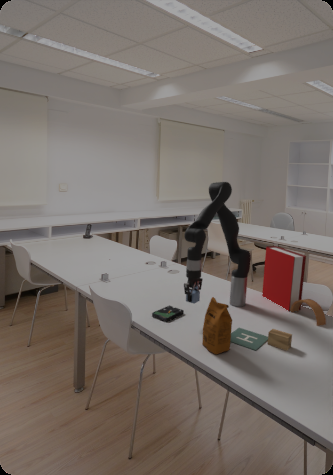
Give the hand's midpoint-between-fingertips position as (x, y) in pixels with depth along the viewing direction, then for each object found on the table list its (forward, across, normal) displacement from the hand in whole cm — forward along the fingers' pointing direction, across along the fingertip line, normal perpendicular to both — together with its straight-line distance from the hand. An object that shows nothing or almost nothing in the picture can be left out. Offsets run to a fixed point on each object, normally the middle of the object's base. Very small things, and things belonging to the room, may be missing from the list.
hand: (192, 300), depth 180 cm
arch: (+13, -47, +44) cm, 66 cm away
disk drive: (+13, +1, -15) cm, 19 cm away
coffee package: (+12, +16, +23) cm, 30 cm away
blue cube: (+1, 0, 0) cm, 1 cm away
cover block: (+12, -6, +44) cm, 46 cm away
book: (+13, -60, +24) cm, 66 cm away
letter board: (+12, -2, +30) cm, 32 cm away
